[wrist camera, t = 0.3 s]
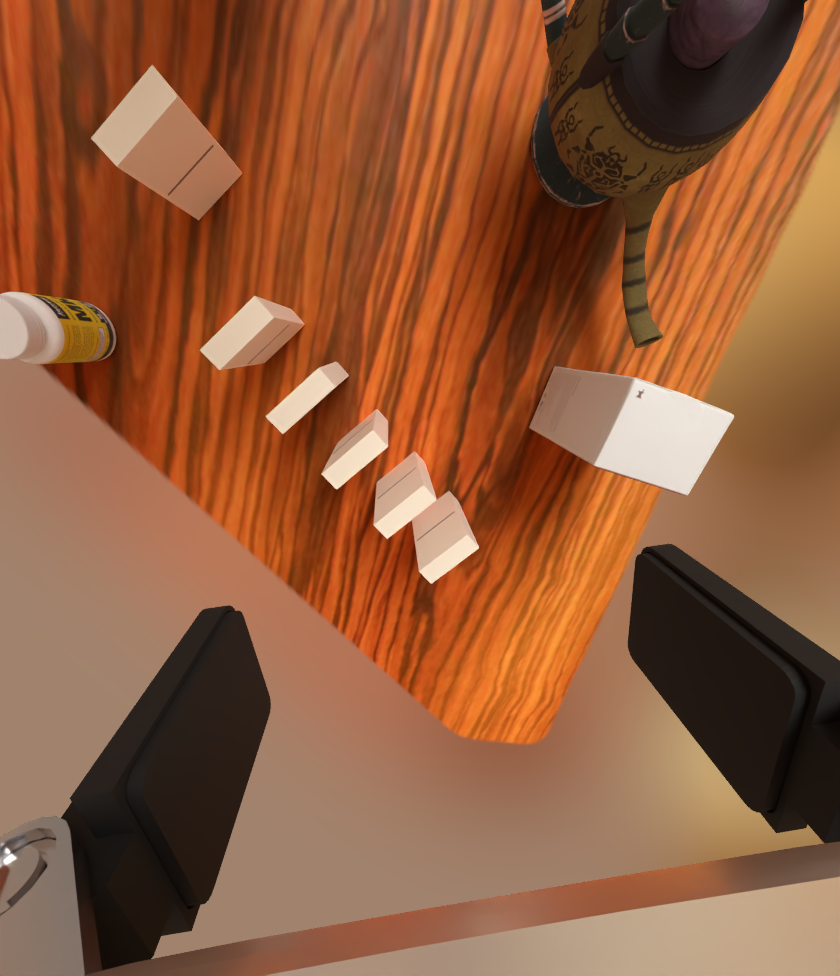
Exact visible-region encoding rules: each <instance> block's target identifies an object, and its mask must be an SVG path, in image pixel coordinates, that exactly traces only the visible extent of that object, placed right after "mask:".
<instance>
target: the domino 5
mask: <svg viewBox="0 0 840 976" xmlns="http://www.w3.org/2000/svg"><path fill="white" fill-rule="evenodd" d="M436 500H437V499H436V496H435V492H434V489H433V486H432V483H431V480H430V477H429V474H428V470H427V467H426V464H425V462H424V461H423V460H422V459H421V457H420V456H419V455H418V454H417V453H416V452H415V451H414V452H413V453H412V454H410V455H409V456H408V457H407V458H406V459H404V460H403V461H402V462H401V463H400V464H398V465H397V466H396V467H395V468H393V469H392V470H391V471H390V472H389V473H387V474H386V475H385V476H384V477H383V478H381V479H380V480H379V481H378V482H377V485H376V498H375V511H374V524H373V525H374V526H375V527H376V528H377V529H378V530H379V531H380V532H381V533H382V534H383V535H384V536H385V537H386V538H387V539H388V538H389V537H390V536H392V535H393V534H394V533H395V532H397V531H398V530H399V529H401V528H402V527H403V526H404V525H406V524H407V523H408V522H409V521H411V520H412V519H413V518H415V517H416V516H417V515H418V514H420V513H421V512H422V511H423V510H425V509H426V508H427V507H428V506H430V505H431V504H432V503H434V502H435V501H436Z"/></svg>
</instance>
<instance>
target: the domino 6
mask: <svg viewBox="0 0 840 976" xmlns="http://www.w3.org/2000/svg"><path fill="white" fill-rule="evenodd" d="M412 525H413V532H414V540H415V547H416V554H417V561H418V569H419V572H420V573H421V574H422V575H423V576H424V577H425V578H426V579H427V580H428V581H429V582H430V583H431V584H432V583H433V582H434V581H436V580H437V579H438V578H440V577H441V576H442V575H444V574H445V573H446V572H448V571H449V570H450V569H452V568H453V567H455V566H456V565H457V564H459V563H460V562H461V561H463V560H464V559H465V558H467V557H468V556H469V555H471V554H472V553H473V552H475V551H476V550H477V549H479V546H478V544H477V542H476V540H475V537H474V535H473V533H472V531H471V528H470V526H469V524H468V522H467V519H466V517H465V515H464V513H463V511H462V508H461V506H460V504H459V502H458V500H457V499H456V498H455V497H454V496H453V495H452V493H451V492H450V491H448V492H447V493H445V494H444V495H443V496H442V497H440V498H439V499H438V500H436V501H435V502H434V503H433V504H431V505H430V506H429V507H428V508H426V509H425V510H424V511H423V512H421V513H420V514H419V515H417V516H416V517H415V518H414V519H412Z"/></svg>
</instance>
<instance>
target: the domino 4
mask: <svg viewBox="0 0 840 976" xmlns="http://www.w3.org/2000/svg"><path fill="white" fill-rule="evenodd" d="M387 447H388V421H387V420H386V418H385V417H384V416H383V415H382V414H381V413H380V411H379V410H378V409H376V410H374V411H373V412H372V413H371V414H370V415H369V416H368V417H366V418H365V419H364V420H363V421H362V422H361V423H359V424H358V425H357V426H356V427H355V428H354V429H353V430H351V431H350V432H349V433H348V434H347V435H346V436H344V437H343V438H342V439H341V440H340V441H339V442H338V443H337V445H336V447H335V449H334V451H333V452H332V454H331V456H330V458H329V460H328V462H327V464H326V466H325V468H324V470H323V472H322V475H323V476H324V477H325V478H326V479H327V480H328V481H329V483H330V484H331V485H332V486H333V487H334V488H335V489H336V490H337V489H338V488H339V487H340V486H342V485H343V484H344V483H345V482H346V481H348V480H349V479H350V478H351V477H352V476H354V475H355V474H356V473H357V472H358V471H360V470H361V469H362V468H363V467H364V466H366V465H367V464H368V463H369V462H370V461H372V460H373V459H374V458H375V457H376V456H377V455H379V454H380V453H381V452H382V451H383V450H385V449H386V448H387Z"/></svg>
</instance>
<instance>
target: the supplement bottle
mask: <svg viewBox="0 0 840 976" xmlns="http://www.w3.org/2000/svg"><path fill="white" fill-rule="evenodd" d="M115 345H116V333H115V329H114V326H113V324H112V322H111V321H110V319H109V318H108V317H107V316H106V314H105V313H104V312H102V311H101V310H100V309H99V308H97V307H95V306H94V305H92V304H89V303H86V302H82V301H77V300H70V299H64V298H57V297H50V296H43V295H36V294H29V293H23V292H6V293H2V294H0V359H6V360H20V361H23V362H27V363H32V364H51V363H71V362H94V361H100V360H103V359H105V358H107V357H108V356H110V355H111V353H112V352H113V350H114V348H115Z"/></svg>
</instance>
